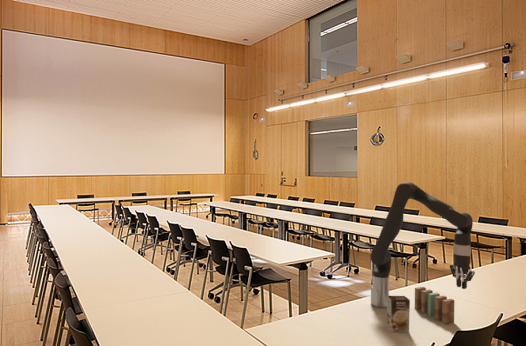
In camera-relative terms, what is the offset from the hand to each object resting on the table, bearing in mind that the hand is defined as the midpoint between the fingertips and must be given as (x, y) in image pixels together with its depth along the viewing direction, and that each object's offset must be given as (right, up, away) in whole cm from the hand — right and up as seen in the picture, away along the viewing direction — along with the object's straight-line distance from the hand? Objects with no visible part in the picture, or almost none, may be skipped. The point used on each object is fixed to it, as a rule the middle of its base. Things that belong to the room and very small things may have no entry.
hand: (461, 287), depth 184 cm
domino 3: (-6, -21, +18) cm, 28 cm away
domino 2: (-7, -21, +22) cm, 31 cm away
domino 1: (-9, -20, +27) cm, 35 cm away
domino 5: (-3, -21, +8) cm, 23 cm away
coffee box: (-32, -21, 0) cm, 38 cm away
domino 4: (-4, -21, +13) cm, 25 cm away
